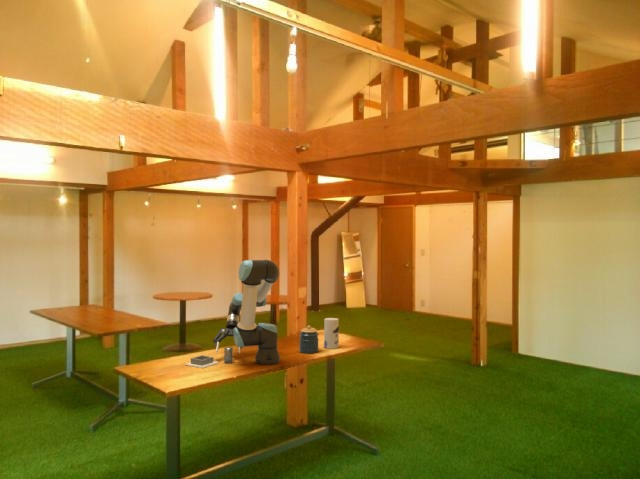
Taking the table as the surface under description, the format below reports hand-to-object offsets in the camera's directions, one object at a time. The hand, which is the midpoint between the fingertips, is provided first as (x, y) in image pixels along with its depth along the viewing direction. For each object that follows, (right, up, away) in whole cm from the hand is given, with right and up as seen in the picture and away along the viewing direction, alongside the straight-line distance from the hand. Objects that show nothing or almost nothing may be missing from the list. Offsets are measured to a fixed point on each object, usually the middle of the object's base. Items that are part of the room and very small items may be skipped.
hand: (227, 352), depth 290 cm
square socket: (-15, -6, -4) cm, 16 cm away
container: (+64, -7, +43) cm, 77 cm away
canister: (+49, -7, +30) cm, 57 cm away
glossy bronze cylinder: (0, -6, 0) cm, 6 cm away
